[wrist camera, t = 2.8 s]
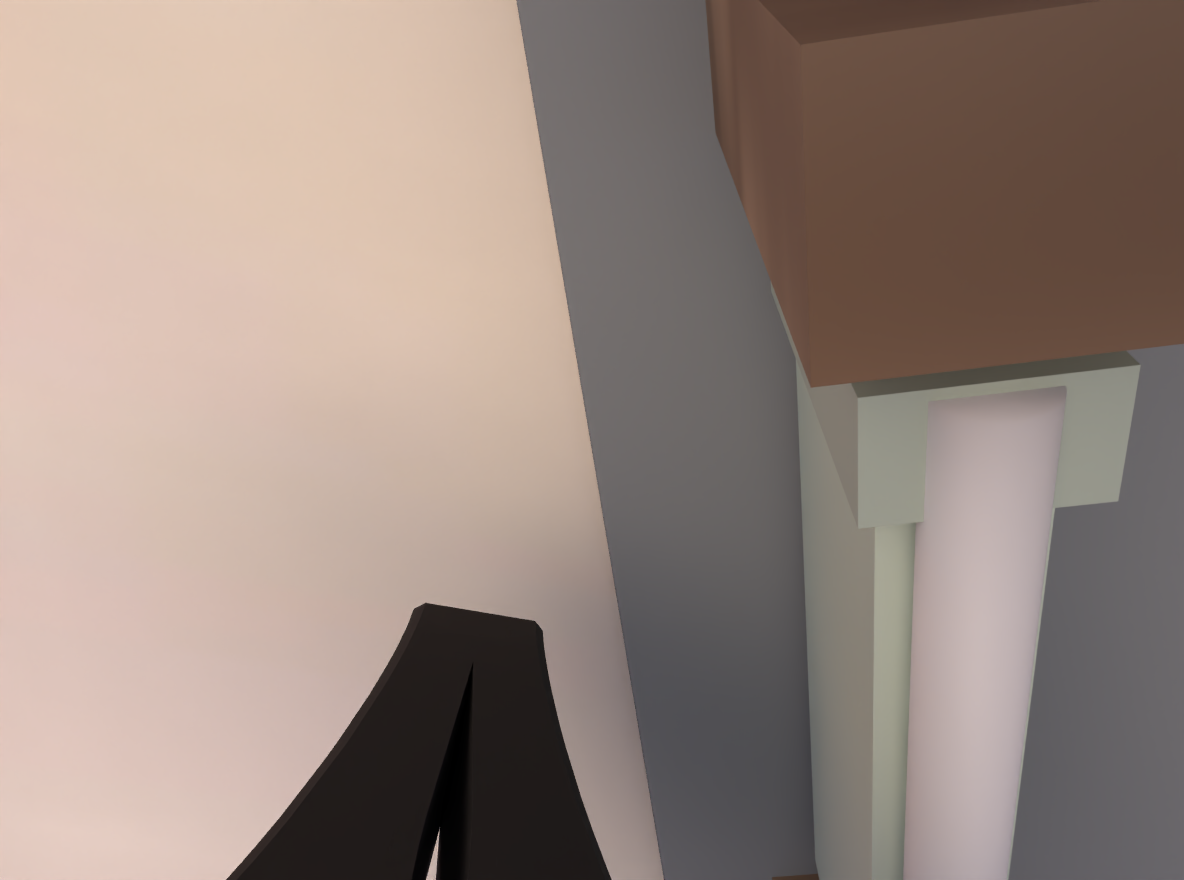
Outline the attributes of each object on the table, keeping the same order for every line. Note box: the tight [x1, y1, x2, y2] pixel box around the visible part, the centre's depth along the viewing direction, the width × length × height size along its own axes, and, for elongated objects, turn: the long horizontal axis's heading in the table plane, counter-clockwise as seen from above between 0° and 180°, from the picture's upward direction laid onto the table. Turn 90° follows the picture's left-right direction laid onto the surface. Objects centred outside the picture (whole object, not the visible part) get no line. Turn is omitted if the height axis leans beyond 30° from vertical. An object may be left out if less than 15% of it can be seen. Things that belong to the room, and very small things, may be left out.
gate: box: [771, 283, 1141, 880], centre depth 12 cm, size 12×2×5 cm, turn 8°
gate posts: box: [705, 0, 1184, 880], centre depth 12 cm, size 18×3×6 cm, turn 8°
